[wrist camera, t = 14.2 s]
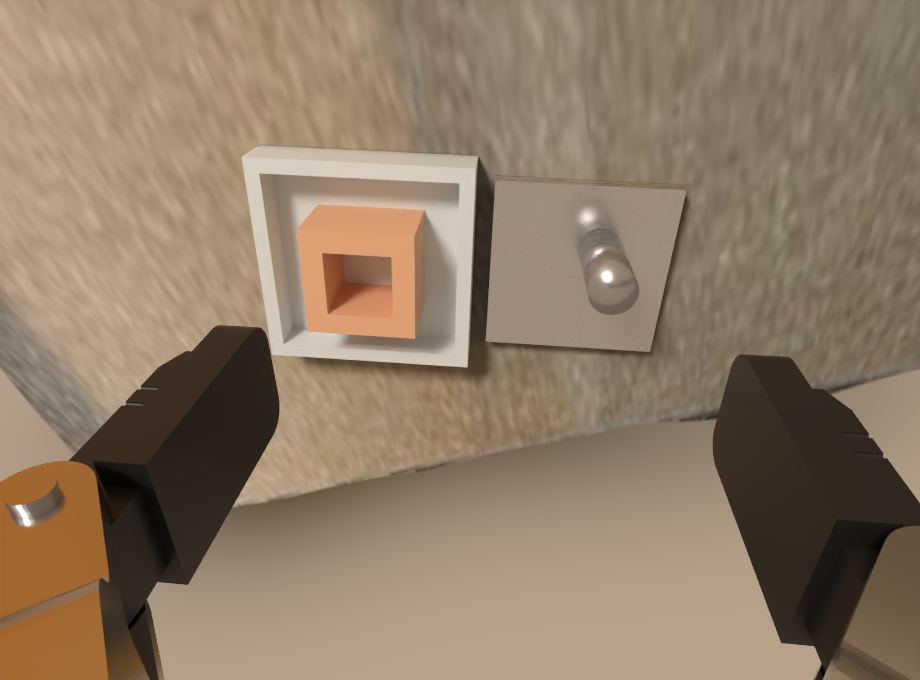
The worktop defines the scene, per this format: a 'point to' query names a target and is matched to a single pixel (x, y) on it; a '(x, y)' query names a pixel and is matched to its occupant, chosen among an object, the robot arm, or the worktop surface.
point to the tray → (368, 185)
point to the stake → (580, 261)
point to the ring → (358, 303)
